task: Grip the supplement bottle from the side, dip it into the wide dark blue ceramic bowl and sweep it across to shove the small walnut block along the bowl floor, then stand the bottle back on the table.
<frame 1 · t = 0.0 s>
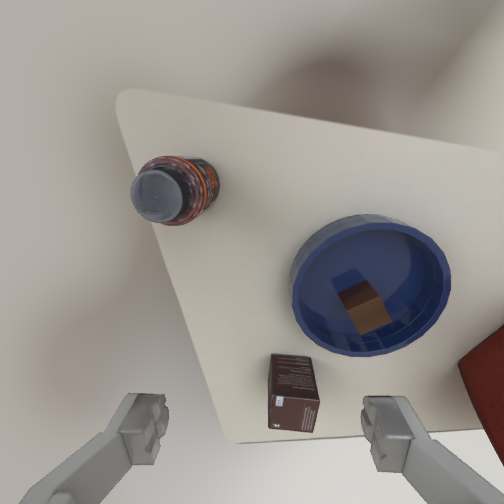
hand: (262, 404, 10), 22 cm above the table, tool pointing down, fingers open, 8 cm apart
supplement bottle: (196, 183, 29), on the table
box: (288, 368, 39), on the table
bowl: (357, 280, 33), on the table
block: (357, 298, 33), point 1 cm above the table, touching bowl
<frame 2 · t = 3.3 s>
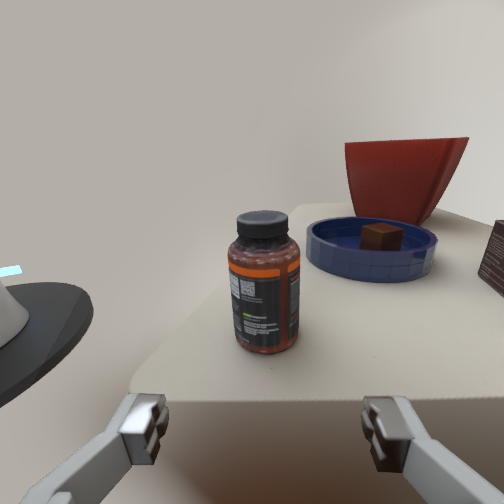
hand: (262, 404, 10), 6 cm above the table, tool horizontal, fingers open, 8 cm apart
supplement bottle: (266, 335, 24), on the table
flower pot: (392, 218, 59), on the table
bowl: (363, 255, 39), on the table
block: (378, 252, 39), point 1 cm above the table, touching bowl
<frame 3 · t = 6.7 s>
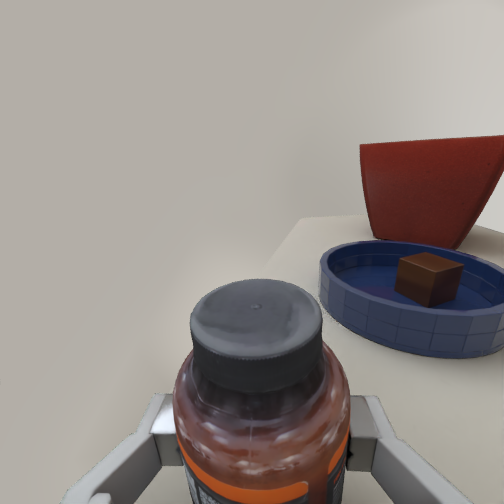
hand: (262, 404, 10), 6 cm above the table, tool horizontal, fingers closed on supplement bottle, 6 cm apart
flower pot: (418, 236, 48), on the table
bowl: (400, 299, 28), on the table
block: (423, 294, 27), point 1 cm above the table, touching bowl
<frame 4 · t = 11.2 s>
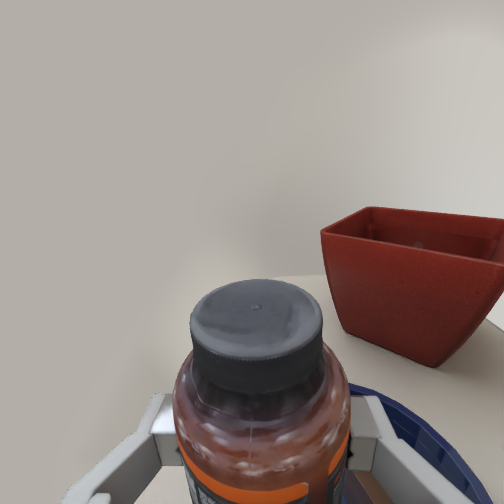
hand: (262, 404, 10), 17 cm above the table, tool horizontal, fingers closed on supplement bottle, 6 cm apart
flower pot: (395, 328, 40), on the table
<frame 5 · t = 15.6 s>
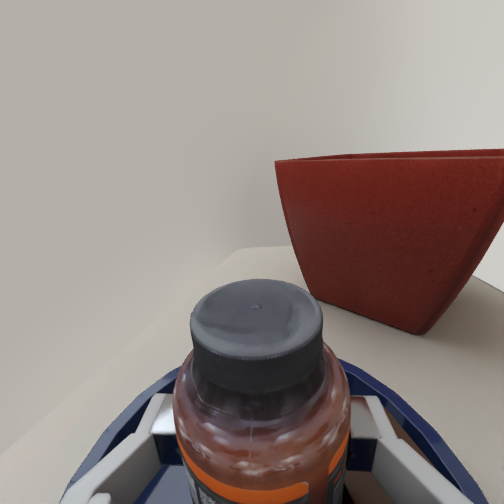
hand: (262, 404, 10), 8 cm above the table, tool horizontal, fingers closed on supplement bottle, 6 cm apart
flower pot: (376, 294, 32), on the table
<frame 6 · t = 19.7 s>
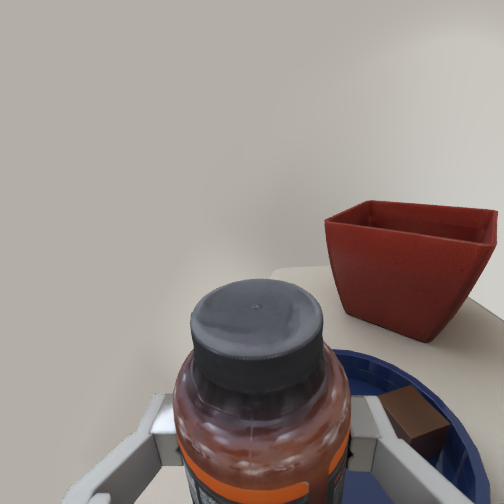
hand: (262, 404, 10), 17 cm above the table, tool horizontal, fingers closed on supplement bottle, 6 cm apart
flower pot: (393, 311, 44), on the table
bowl: (351, 450, 23), on the table
block: (403, 439, 24), point 1 cm above the table, touching bowl
when the fingers open (6 cm above the table, at t = 23.4 s): supplement bottle stays where it is, on the table.
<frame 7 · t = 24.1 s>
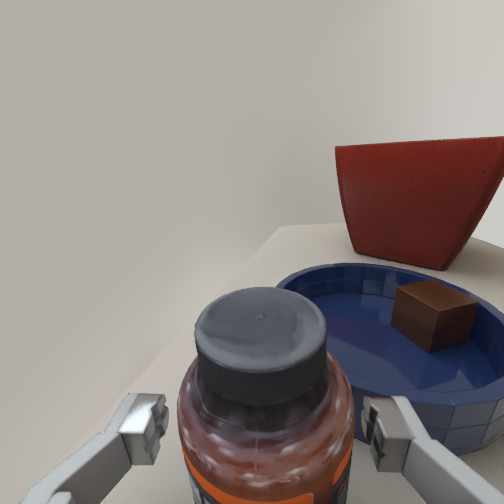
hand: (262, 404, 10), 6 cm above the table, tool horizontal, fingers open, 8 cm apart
flower pot: (404, 251, 42), on the table
bowl: (370, 344, 22), on the table
block: (426, 333, 22), point 1 cm above the table, touching bowl
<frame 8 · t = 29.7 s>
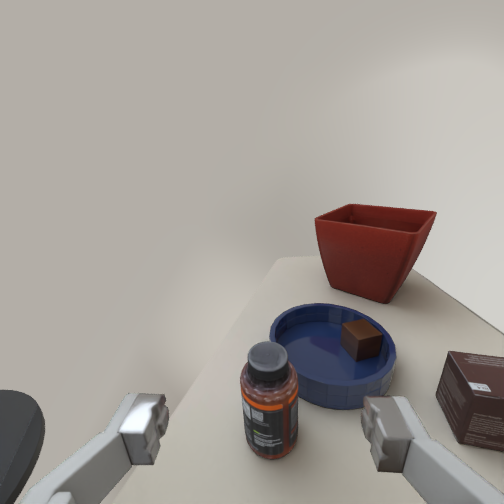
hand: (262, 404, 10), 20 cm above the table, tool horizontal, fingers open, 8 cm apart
supplement bottle: (271, 433, 29), on the table
box: (474, 424, 29), on the table
flower pot: (366, 285, 59), on the table
bowl: (327, 356, 39), on the table
block: (358, 349, 39), point 1 cm above the table, touching bowl
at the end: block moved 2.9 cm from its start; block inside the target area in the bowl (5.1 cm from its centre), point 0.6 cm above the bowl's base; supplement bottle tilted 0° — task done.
